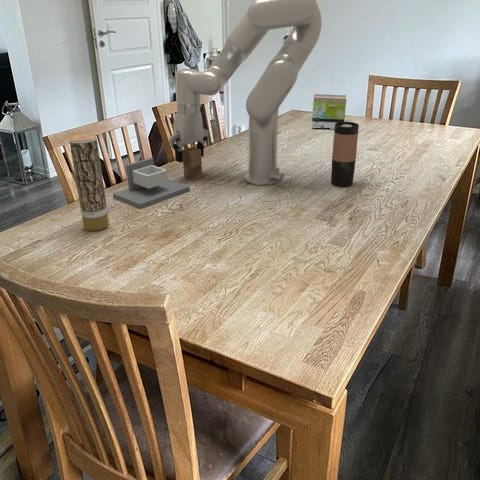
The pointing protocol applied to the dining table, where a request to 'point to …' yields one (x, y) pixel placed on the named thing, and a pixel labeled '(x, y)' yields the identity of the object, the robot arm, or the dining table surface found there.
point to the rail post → (192, 163)
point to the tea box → (328, 110)
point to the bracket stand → (148, 185)
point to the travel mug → (344, 153)
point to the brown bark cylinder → (89, 181)
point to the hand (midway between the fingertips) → (189, 158)
